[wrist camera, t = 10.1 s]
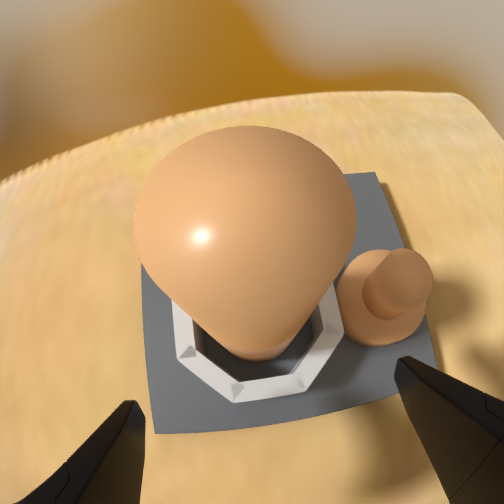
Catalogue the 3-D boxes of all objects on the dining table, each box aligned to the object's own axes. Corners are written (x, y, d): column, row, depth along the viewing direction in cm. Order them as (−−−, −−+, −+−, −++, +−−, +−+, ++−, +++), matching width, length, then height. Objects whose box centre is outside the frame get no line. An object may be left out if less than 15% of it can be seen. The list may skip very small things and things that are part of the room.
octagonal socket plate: (427, 379, 17) (485, 371, 11) (162, 430, 16) (119, 448, 10) (369, 183, 24) (394, 127, 18) (148, 213, 23) (118, 159, 17)
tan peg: (308, 336, 17) (400, 235, 5) (244, 376, 16) (196, 369, 5) (267, 277, 19) (273, 104, 7) (206, 314, 18) (108, 183, 6)
